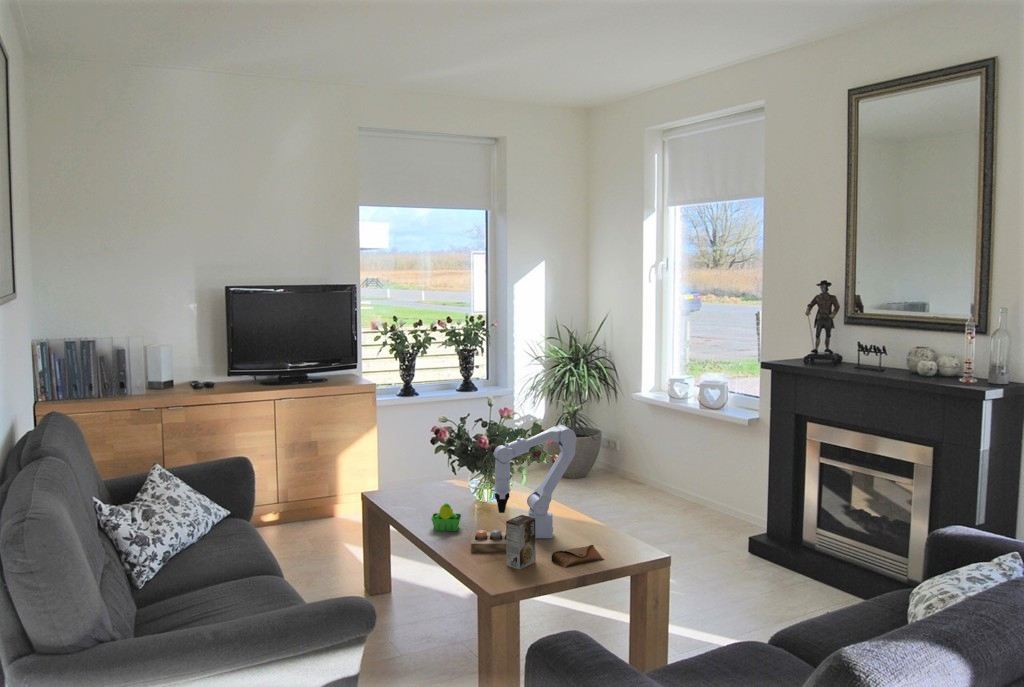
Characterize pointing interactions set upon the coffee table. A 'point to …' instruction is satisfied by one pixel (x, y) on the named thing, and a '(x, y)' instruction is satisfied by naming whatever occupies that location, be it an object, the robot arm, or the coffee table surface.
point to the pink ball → (481, 534)
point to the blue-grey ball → (495, 534)
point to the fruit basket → (446, 519)
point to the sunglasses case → (576, 556)
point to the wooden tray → (488, 543)
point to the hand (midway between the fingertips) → (501, 512)
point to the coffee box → (520, 542)
